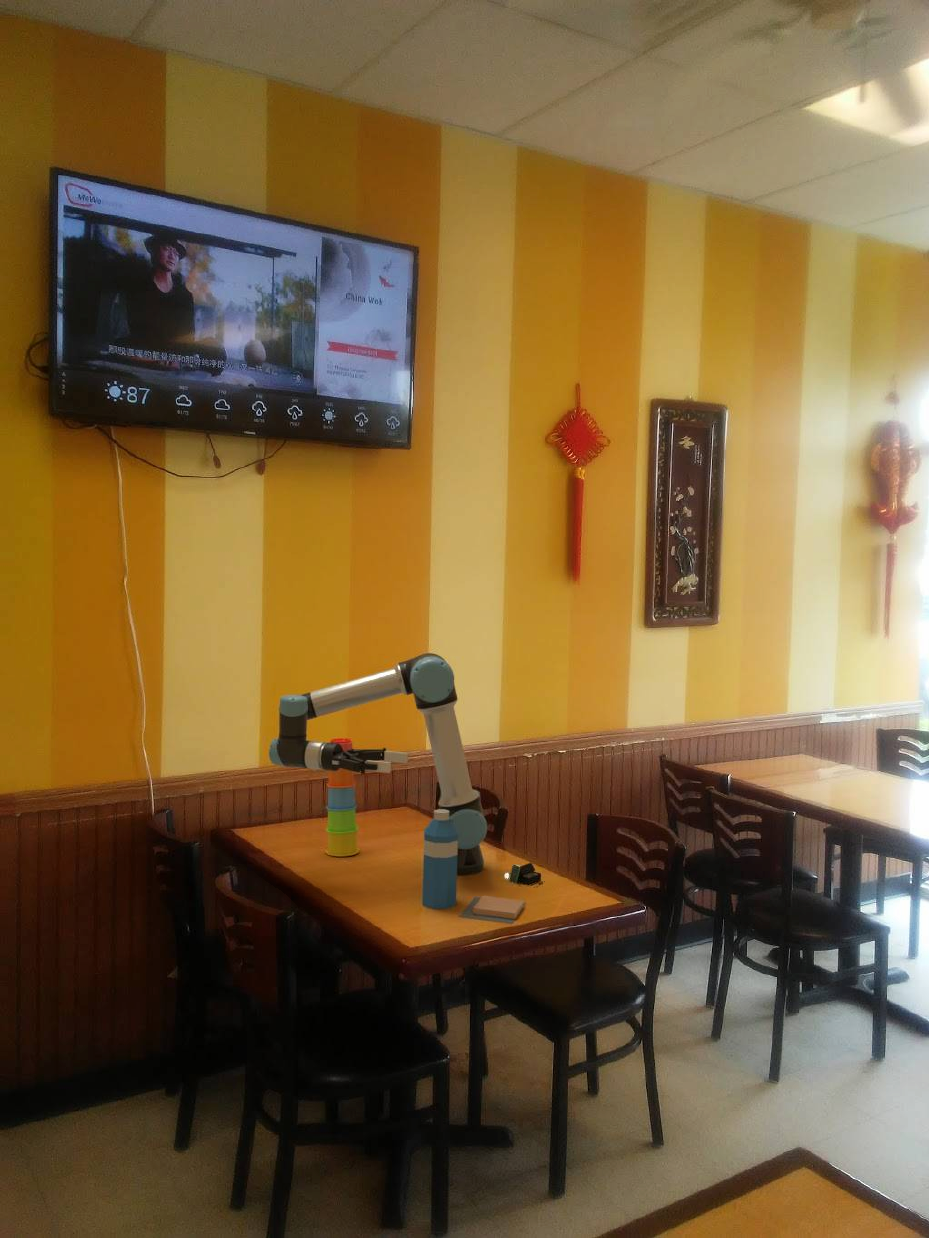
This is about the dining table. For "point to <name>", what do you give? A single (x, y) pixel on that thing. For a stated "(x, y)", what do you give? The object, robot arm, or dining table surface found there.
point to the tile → (498, 907)
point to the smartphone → (524, 874)
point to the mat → (469, 914)
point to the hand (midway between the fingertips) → (399, 762)
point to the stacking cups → (341, 809)
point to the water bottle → (440, 862)
